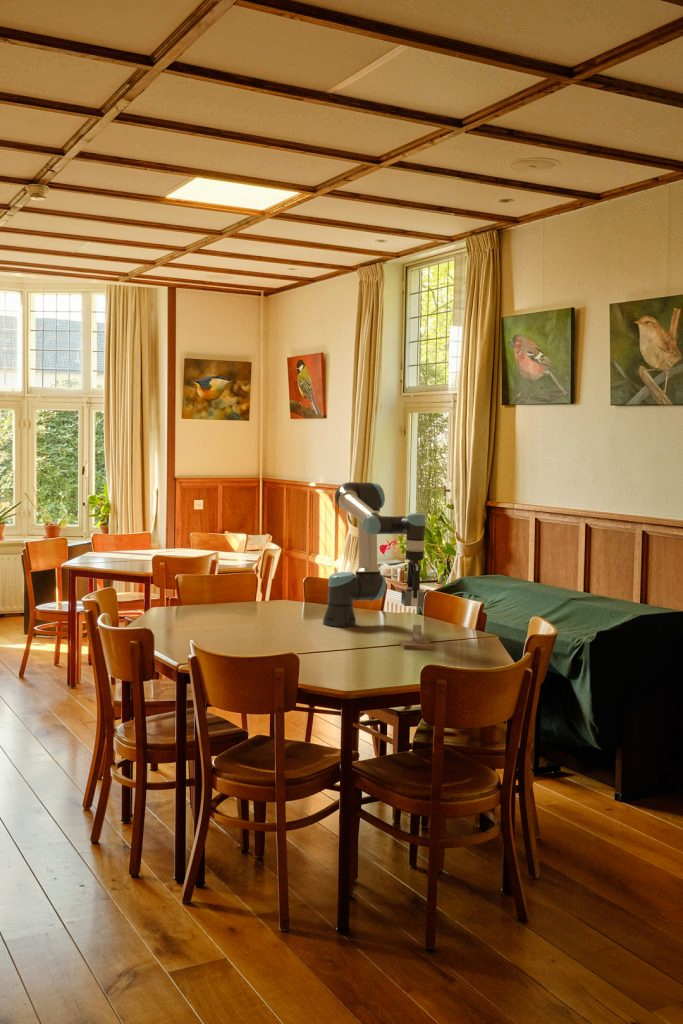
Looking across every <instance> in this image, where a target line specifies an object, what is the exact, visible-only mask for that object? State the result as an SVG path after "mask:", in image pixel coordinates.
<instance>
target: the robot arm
mask: <svg viewBox="0 0 683 1024" xmlns="http://www.w3.org/2000/svg"><path fill="white" fill-rule="evenodd" d="M385 499H386V498H385V492H384V489H383V488H382V486H381V485H380V484H379V483H374V482H350V481H349V482H345V483H343V484H341V485H339V486H338V487H337V489H336V491H335V494H334V500H335V503H336V505H337V506H338V507H339V508H340V509H342V510H343V511H347V512H348V513H349V514H350V515H352V516H353V517H354V518H355V519H357V529H358V531H357V533H358V535H357V536H358V539H357V541H358V543H357V544H358V568H357V569H356V570H355V573H354V572H351V571H340V572H334V573H332V574H330V575H329V577H328V582H327V583H328V584H327V586H328V587H327V589H328V590H327V606H326V607H327V608H326V610H325V613H324V615H323V618H322V624H323V625H324V626H329V627H339V628H340V627H341V628H345V627H346V628H349V627H355V626H357V618H356V617H357V616H356V614H355V610H354V602H355V601H356V602H363V601H365V602H366V601H368V602H369V601H370V602H373V601H379V600H381V598H382V597H384V594H385V592H386V590H387V589H386V588H387V582H386V581H387V580H386V577H385V576H384V575H382V574H381V572H382V571H381V570H380V569H379V568H378V535H406V539H405V540H406V541H405V542H404V544H405V549H406V551H405V559H406V560H408V563H407V577H406V578H407V580H406V585H407V589H411V590H412V592H411V606H410V607H419V606H418V590H421V588H420V585H421V584H420V583H421V582H420V580H421V578H420V576H421V575H420V574H421V573H420V571H421V565H420V564H419V561H423V560H424V550H425V534H426V532H425V531H426V515H425V514H424V513H417V512H415V513H412V512H411V513H408V514H407V516H404V515H397V516H386V515H385V516H383V515H380V512H381V511H380V510H381V509H382V508H384V505H385V501H386V500H385Z"/></svg>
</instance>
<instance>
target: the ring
mask: <svg viewBox="0 0 683 1024" xmlns="http://www.w3.org/2000/svg"><path fill="white" fill-rule="evenodd" d="M411 592H412V590H411V589H408V588H402V589H401V602H400V603H401V605H403V606H404V607H412V606H411ZM424 603H425V591H423V590H422V589H419V590H418V606H417V607H424Z"/></svg>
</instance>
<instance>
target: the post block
mask: <svg viewBox="0 0 683 1024" xmlns="http://www.w3.org/2000/svg"><path fill="white" fill-rule="evenodd" d="M398 643H399V645H400V646H401V647H402V648H403V649H404V650H419V651H421V650H422V651H423V650H426V651H429V650H430V651H434V650H435V646H434V645H433V643H432V642H430V641H429V640H427V639H422V625H419V624H413V625H412V639H399V640H398Z"/></svg>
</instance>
